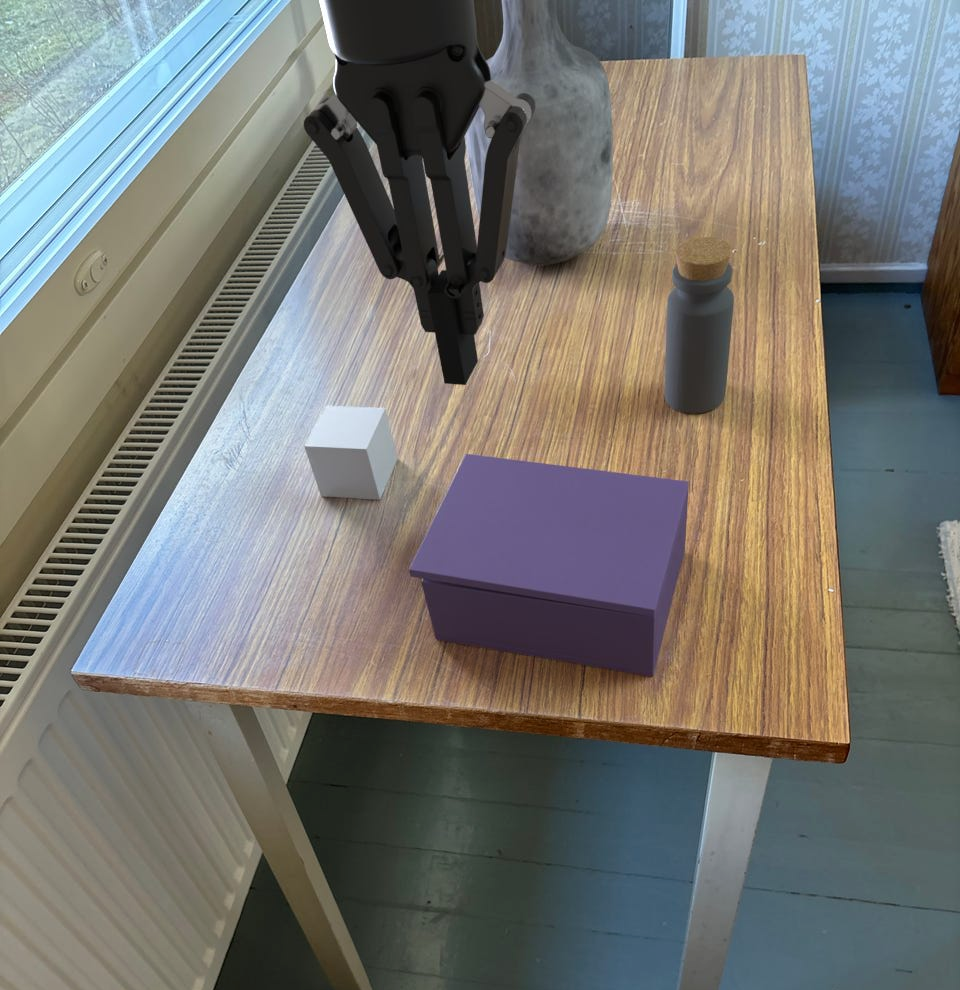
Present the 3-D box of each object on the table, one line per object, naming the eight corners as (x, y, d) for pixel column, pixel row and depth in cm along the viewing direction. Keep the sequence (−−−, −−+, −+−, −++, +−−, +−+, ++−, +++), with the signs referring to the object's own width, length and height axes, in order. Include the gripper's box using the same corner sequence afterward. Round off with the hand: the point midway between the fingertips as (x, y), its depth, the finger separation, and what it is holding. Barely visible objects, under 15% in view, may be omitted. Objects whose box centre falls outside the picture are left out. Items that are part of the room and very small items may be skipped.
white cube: (397, 458, 91) (385, 407, 86) (380, 500, 87) (366, 449, 83) (340, 455, 92) (325, 405, 88) (320, 496, 89) (303, 446, 84)
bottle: (723, 415, 89) (736, 267, 77) (660, 413, 90) (665, 267, 79) (727, 379, 92) (740, 232, 81) (667, 377, 94) (672, 232, 82)
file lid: (410, 577, 70) (408, 569, 69) (466, 460, 78) (465, 453, 77) (654, 617, 65) (654, 610, 64) (688, 488, 73) (689, 481, 72)
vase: (496, 299, 107) (459, -4, 84) (470, 235, 118) (431, -50, 95) (631, 269, 108) (630, -41, 85) (593, 208, 118) (584, -82, 95)
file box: (435, 640, 75) (420, 582, 70) (486, 525, 83) (476, 465, 78) (652, 677, 70) (654, 618, 65) (685, 551, 78) (688, 489, 73)
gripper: (540, -86, 45) (570, 346, 63) (300, -66, 49) (392, 335, 67) (493, -34, 40) (540, 414, 58) (234, -17, 44) (352, 398, 62)
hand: (461, 372), depth 62 cm, fingers closed
